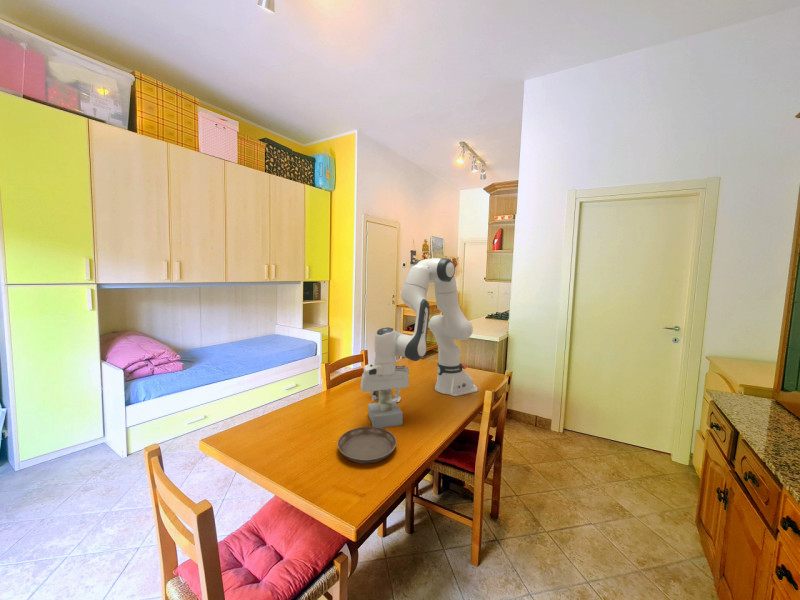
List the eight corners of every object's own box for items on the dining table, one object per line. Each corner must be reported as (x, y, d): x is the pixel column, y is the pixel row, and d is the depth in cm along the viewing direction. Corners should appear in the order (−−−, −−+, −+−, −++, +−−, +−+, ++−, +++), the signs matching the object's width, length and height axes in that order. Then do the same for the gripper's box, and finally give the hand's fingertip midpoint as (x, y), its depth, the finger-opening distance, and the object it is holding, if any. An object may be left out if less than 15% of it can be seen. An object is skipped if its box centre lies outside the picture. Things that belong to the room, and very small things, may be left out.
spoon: (403, 400, 152) (403, 397, 152) (377, 417, 135) (377, 413, 135) (396, 398, 154) (396, 395, 154) (369, 414, 137) (369, 411, 137)
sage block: (388, 405, 134) (389, 389, 133) (391, 410, 130) (391, 393, 129) (378, 406, 133) (378, 390, 132) (381, 411, 129) (381, 395, 128)
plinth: (394, 411, 139) (394, 400, 139) (402, 424, 128) (402, 413, 127) (368, 414, 136) (368, 403, 136) (373, 428, 125) (373, 416, 124)
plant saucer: (402, 438, 119) (402, 429, 118) (387, 473, 99) (387, 463, 98) (351, 431, 123) (350, 423, 123) (327, 463, 103) (327, 453, 103)
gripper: (406, 362, 135) (406, 393, 137) (359, 366, 130) (360, 398, 131) (411, 367, 129) (410, 399, 131) (362, 371, 124) (362, 405, 125)
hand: (385, 399), depth 131 cm, fingers open, 8 cm apart
